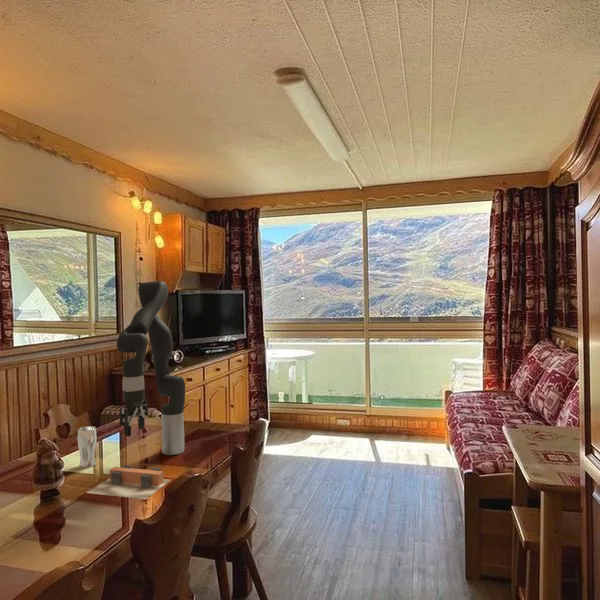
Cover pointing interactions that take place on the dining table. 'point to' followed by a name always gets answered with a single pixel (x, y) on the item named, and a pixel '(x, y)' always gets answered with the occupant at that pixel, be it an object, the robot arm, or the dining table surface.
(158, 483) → the bar
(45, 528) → the dining table surface
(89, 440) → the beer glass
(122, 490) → the board
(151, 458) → the dining table surface
